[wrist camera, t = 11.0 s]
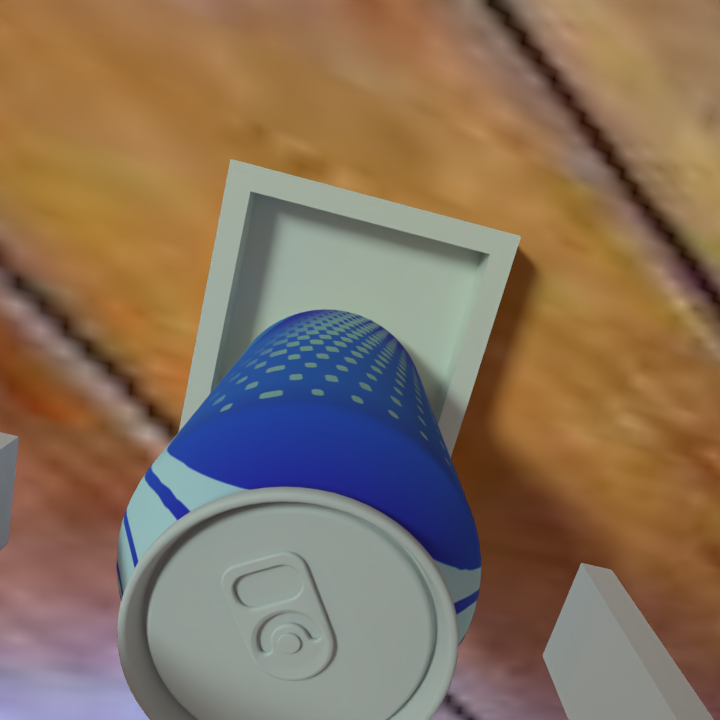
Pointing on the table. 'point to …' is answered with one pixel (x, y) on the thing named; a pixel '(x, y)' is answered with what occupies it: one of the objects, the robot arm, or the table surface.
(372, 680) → the beer can
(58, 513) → the table surface
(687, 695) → the robot arm
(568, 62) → the table surface
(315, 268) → the tray
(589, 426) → the table surface
